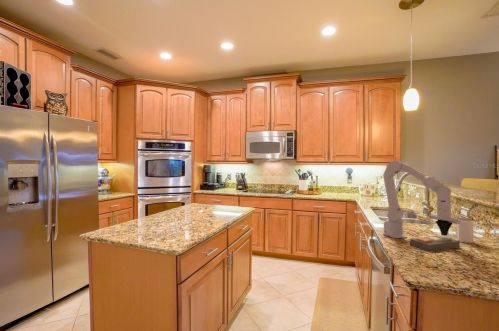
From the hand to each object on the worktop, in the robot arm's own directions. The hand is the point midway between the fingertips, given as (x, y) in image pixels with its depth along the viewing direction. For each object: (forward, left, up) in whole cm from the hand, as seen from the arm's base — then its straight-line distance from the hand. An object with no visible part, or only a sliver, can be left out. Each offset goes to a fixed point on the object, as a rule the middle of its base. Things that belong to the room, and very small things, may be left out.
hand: (444, 235), depth 126 cm
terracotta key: (0, -13, -3) cm, 13 cm away
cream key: (0, -7, -3) cm, 7 cm away
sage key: (0, 0, -3) cm, 3 cm away
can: (-1, +16, -5) cm, 17 cm away
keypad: (0, -7, -5) cm, 8 cm away
